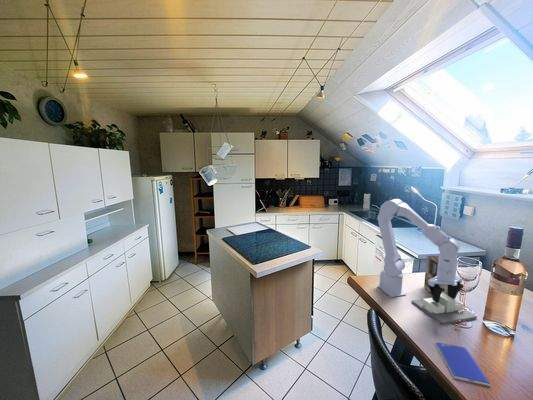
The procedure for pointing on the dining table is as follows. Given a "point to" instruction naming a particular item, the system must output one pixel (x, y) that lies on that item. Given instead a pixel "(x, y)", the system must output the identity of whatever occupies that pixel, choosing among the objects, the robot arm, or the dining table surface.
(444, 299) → the block
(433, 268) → the coffee box
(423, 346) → the dining table surface
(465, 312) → the board
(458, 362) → the hard drive
